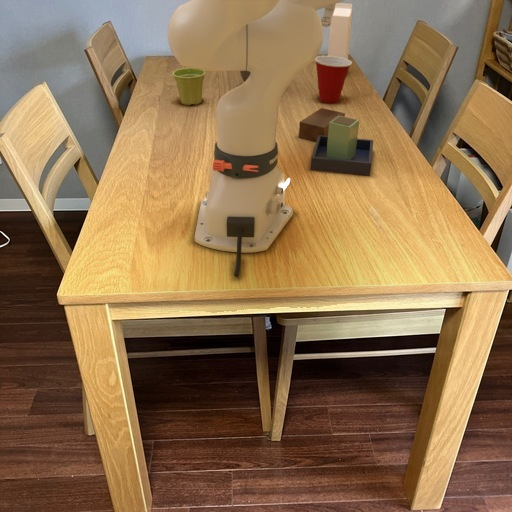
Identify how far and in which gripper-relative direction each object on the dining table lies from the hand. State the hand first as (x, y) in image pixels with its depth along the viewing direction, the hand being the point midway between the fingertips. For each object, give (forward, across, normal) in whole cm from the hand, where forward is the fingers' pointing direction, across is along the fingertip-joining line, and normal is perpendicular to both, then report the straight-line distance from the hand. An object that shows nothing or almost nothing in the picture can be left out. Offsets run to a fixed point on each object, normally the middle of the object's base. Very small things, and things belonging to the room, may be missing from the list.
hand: (315, 30), depth 120 cm
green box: (+26, -1, -6) cm, 27 cm away
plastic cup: (+28, +35, +12) cm, 46 cm away
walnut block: (+28, +11, +2) cm, 30 cm away
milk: (+28, +59, +22) cm, 69 cm away
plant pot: (+28, +9, +45) cm, 54 cm away
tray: (+28, -1, -10) cm, 30 cm away
